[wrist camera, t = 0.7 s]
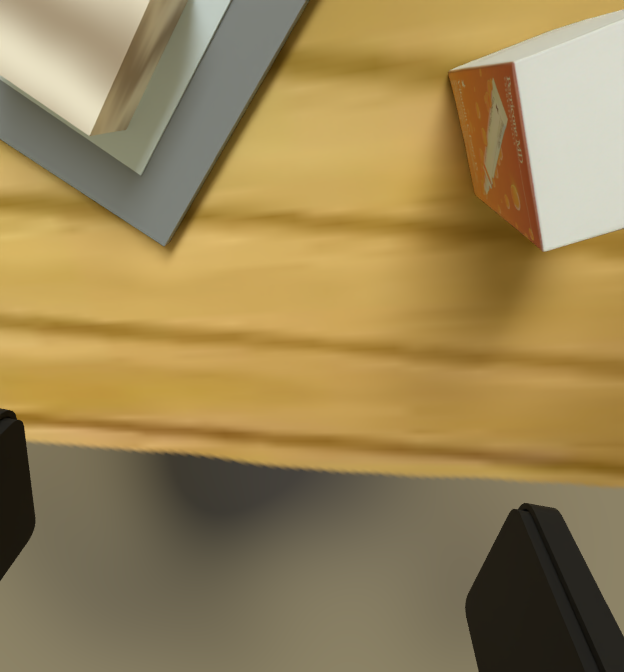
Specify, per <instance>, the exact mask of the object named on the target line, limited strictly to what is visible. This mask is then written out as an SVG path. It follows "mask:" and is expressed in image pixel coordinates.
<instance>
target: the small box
mask: <svg viewBox="0 0 624 672" xmlns="http://www.w3.org/2000/svg"><path fill="white" fill-rule="evenodd" d="M448 75H449V79H450V82H451V86H452V90H453V94H454V98H455V102H456V107H457V111H458V116H459V120H460V125H461V130H462V134H463V139H464V143H465V148H466V153H467V158H468V163H469V168H470V173H471V178H472V183H473V188H474V193H475V195H476V196H477V197H478V198H479V199H481V200H482V201H483V202H484V203H486V204H487V205H488V206H489V207H490V208H491V209H493V210H494V211H495V212H496V213H498V214H499V215H500V216H501V217H502V218H504V219H505V220H506V221H507V222H508V223H510V224H511V225H512V226H513V227H514V228H516V229H517V230H518V231H519V232H520V233H522V234H523V235H524V236H525V237H526V238H528V239H529V240H530V241H531V242H533V243H534V244H535V245H536V246H537V247H538V248H540V249H541V250H542V251H543V252H544V251H549V250H552V249H555V248H559V247H562V246H565V245H569V244H572V243H576V242H579V241H583V240H586V239H589V238H593V237H596V236H600V235H603V234H607V233H610V232H614V231H617V230H621V229H624V10H620V11H616V12H612V13H609V14H605V15H601V16H598V17H594V18H590V19H586V20H583V21H580V22H576V23H573V24H570V25H567V26H564V27H561V28H557V29H554V30H551V31H549V32H546V33H543V34H541V35H538V36H536V37H533V38H531V39H528V40H525V41H523V42H520V43H518V44H515V45H513V46H510V47H507V48H505V49H502V50H500V51H497V52H495V53H492V54H490V55H487V56H484V57H482V58H479V59H477V60H474V61H471V62H469V63H466V64H464V65H461V66H459V67H456V68H454V69H451V70H449V72H448Z"/></svg>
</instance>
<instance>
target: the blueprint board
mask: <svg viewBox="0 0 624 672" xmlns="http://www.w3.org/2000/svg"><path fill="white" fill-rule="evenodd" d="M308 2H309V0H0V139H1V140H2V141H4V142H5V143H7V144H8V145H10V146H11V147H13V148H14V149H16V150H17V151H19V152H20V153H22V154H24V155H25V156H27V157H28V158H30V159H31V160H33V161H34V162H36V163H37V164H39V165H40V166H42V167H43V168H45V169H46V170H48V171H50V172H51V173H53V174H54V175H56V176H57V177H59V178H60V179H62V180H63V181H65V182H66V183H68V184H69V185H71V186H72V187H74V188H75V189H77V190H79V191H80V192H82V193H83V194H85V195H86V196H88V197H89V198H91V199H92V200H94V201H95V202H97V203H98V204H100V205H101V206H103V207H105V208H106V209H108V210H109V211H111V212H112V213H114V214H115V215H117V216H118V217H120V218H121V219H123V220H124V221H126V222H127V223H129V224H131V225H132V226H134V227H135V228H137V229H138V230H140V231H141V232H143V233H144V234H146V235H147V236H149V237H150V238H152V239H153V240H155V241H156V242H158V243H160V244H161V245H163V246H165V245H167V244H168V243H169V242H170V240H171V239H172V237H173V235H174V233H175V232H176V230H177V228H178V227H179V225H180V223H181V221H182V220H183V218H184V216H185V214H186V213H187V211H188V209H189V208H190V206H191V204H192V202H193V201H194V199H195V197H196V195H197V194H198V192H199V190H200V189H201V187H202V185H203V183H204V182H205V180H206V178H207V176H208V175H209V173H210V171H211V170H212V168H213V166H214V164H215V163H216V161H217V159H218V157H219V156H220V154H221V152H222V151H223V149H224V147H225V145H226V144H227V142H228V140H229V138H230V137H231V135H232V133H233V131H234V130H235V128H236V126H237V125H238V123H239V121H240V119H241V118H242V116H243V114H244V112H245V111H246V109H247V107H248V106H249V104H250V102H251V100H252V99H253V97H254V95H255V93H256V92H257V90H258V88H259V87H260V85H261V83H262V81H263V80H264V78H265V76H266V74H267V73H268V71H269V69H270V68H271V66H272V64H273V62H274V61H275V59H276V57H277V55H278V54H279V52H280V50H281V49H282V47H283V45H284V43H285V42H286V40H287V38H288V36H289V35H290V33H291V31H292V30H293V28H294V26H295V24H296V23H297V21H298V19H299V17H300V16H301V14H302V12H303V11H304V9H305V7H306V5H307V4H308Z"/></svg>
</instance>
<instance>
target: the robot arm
mask: <svg viewBox="0 0 624 672" xmlns="http://www.w3.org/2000/svg"><path fill="white" fill-rule="evenodd" d="M34 527H35V512H34V504H33V496H32V488H31V480H30V471H29V464H28V455H27V447H26V439H25V431H24V425H23V422H22V421H20V420H17V418H16V414H15V413H14V412H13V411H10V410H6V409H0V580H1V579H2V578H3V576H4V575H5V573H6V572H7V571H8V569H9V568H10V566H11V565H12V563H13V562H14V561H15V559H16V558H17V556H18V555H19V554H20V552H21V551H22V549H23V548H24V546H25V545H26V544H27V542H28V541H29V539H30V537H31V535H32V533H33V530H34ZM465 608H466V618H467V622H468V627H469V631H470V635H471V640H472V644H473V648H474V653H475V657H476V661H477V666H478V670H479V672H624V636H623V635H622V633H621V631H620V629H619V627H618V625H617V623H616V621H615V619H614V617H613V615H612V613H611V611H610V609H609V607H608V605H607V604H606V602H605V600H604V598H603V596H602V594H601V592H600V590H599V588H598V586H597V584H596V582H595V580H594V578H593V576H592V574H591V572H590V570H589V568H588V566H587V564H586V562H585V560H584V558H583V556H582V554H581V552H580V551H579V548H578V546H577V545H576V543H575V541H574V539H573V537H572V535H571V533H570V531H569V529H568V527H567V525H566V523H565V521H564V519H563V517H562V515H561V514H560V512H559V511H558V510H557V509H555V508H550V507H545V506H539V505H534V504H528V503H524V504H522V505H521V506H520V507H519V509H518V510H517V509H513V510H511V512H510V513H509V515H508V517H507V519H506V521H505V523H504V525H503V526H502V528H501V531H500V532H499V535H498V536H497V538H496V540H495V542H494V544H493V546H492V548H491V550H490V552H489V554H488V556H487V558H486V560H485V562H484V564H483V566H482V568H481V570H480V572H479V574H478V576H477V577H476V579H475V581H474V583H473V585H472V587H471V589H470V591H469V593H468V596H467V599H466V606H465Z"/></svg>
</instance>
